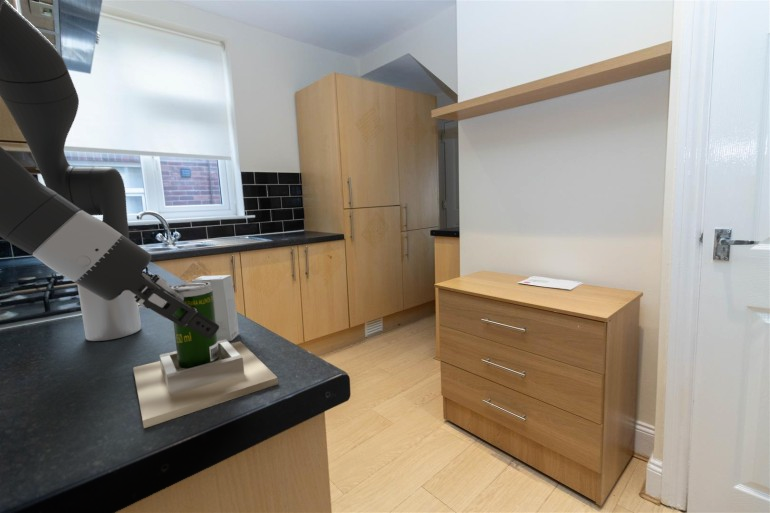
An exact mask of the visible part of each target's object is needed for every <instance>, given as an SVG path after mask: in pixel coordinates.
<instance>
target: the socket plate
mask: <svg viewBox="0 0 770 513" xmlns="http://www.w3.org/2000/svg"><path fill="white" fill-rule="evenodd" d="M218 350H219V359H218V361H215V362H212V363H208V364H204V365H200V366H197V367H193V368H189V369H185V370H181V369H180V368H179V366H178V358H177V350H175V351H170V352H166V353H161V354H158V355H159V360H158V361H154V362H150V363H146V364H142V365H138V366H134V367H133V368H132V369H133V375H134V379H135V386H136V392H137V397H138V403H139V409H140V414H141V421H142V426H143V429H146V428H149V427H152V426H156V425H158V424H162V423H164V422H167V421H170V420H171V421H172V420H173V419H177V418H179V417H182V416H185V415H188V414H192V413H194V412H199V411H202V410H204V409H206V408H210V407H214V406H216V405H219V404H222V403H225V402H228V401H230V400H234V399H237V398H240V397H243V396H247V395H249V394H252V393H255V392H257V391H258V392H259V391H261V390H264V389H265V390H266V388H270V387H274V386H276V385H279V380H278V376H276V375H275V373H274V372H272V371H271V370H270V369H269V367H267V366H266V364H264V363H263V362H262V361H261V360H260V358H258V357H257V356H256V355H255V354H254V353H253V352H252V351H251V350H250V349H249V348H248V347H247V346H246V345H245V344H244V343H242V341H241V340H240V341H235V342H231V343H230V341H227V340H226V339H225V340H220V341H218Z"/></svg>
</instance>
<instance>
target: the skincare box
mask: <svg viewBox="0 0 770 513" xmlns="http://www.w3.org/2000/svg"><path fill="white" fill-rule="evenodd" d="M233 281H234V280H233V275H232V274H224V275H222V274H220V275H219V274H218V275H201V276H199V277H196V278H194V279H191V282H209V283H210V287H211V288H212V290H213V298H214V308H215V318H216V324H218V325H219V329H218V331H217V339H218V341H220V340H225V339H226V340H227V341H228V342H232V341H234V339H235V338H236V337H238V336H239V335H240V329H239V320H238V319H239V318H238V313H237V307H236V306H237V305H236V304H237V303H236V298H235V297H236V296H235V288H234V282H233Z"/></svg>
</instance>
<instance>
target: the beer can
mask: <svg viewBox="0 0 770 513" xmlns="http://www.w3.org/2000/svg"><path fill="white" fill-rule="evenodd" d="M171 288H172V289H173V290H175V291H176V292H178V293H179V294H181V295H182V296H183V297H184V298H185V303H187V304H188V305H190V306H191V307H193V308H194V307H195V308H196V309H197V311H198V312H199V313H201V314H202V315H204V316H205V317H207V318H209V319H210V320H212V321H213V322H215V323H216V318H215V308H214V298H213V290H212V288H211V287H210V283H209V282H184V283H179V284H175V285H172V287H171ZM172 295H173V294H172ZM173 296H174V295H173ZM174 297H175V296H174ZM185 311H186V310H185V309H184V308H182V307H180V308H178V309H177V311H176V312H175V315H177V316H178V317H181V315H182V314H183V313H184V312H185ZM172 322H173V321H172ZM172 324H173V331H174V337H175V338H174V339H175V348H176V351H177V358H178V366H179V368H180V369H181V370H185V369H189V368H193V367H197V366H200V365H204V364H208V363H212V362H215V361H218V359H219V350H218V339H217V332H216V333H215V334H214V335H213V337H212V338H210V339H208V338H206V337H204V336H203V335H201V334H199V333H198V332H196V331H194V330H193V329H191V328H189V327H188V326H186V327H180V326H178V325H177V324H176V323H174V322H173V323H172Z"/></svg>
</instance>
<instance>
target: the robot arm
mask: <svg viewBox="0 0 770 513" xmlns="http://www.w3.org/2000/svg"><path fill="white" fill-rule="evenodd" d="M0 98H1V99H2V101H3V102H4V104H5V106H6V108H7V109H8V111H9V113H10V114H11V117H12V119H13V120H14V122H15V124H16V125H17V127H18V129H19V131H20V133H21V135H22V136H23V138H24V140H25V142H26V143H27V146H28V147H29V150H30V152H31V154H32V157H33V158H34V162H36V163H35V164H36V166H37V168H38V170H39V173H40V175H41V177H42V178H41V179H42V180H43V182H44V184H43V183H42V182H40V181H39V180H38V179H37V178H36V177H35V176H34V175H33V174H32V173H31V172H29V171H28V169H26V167H25V166H23V164H21V163H20V162H19V161H18V160H17V159H15V157H14V156H12V155H11V154H10V153H8V152H7V151H6V150H5V149H4V148H3V147H2V146H1V145H0V238H2V239H3V240H5V241H6V242H8V243H10V244H12V245H14V246H16V247H17V248H19V249H20V250H22V251H23V252H25V253H28V254H29V255H32V257H34V258H36V259H37V260H39V261H40V262H41V263H43V264H44V265H45V266H46V267H48V268H49V269H51V270H53V271H54V272H56V273H57V274H59V275H61V276H63V277H64V278H66V279H68V280H70V281H71V282H73V283H75V284H76V285H77V290H78V298H79V302H80V303H79V305H80V310H81V316H82V322H83V330H84V336H85V339H86V341H90V342H101V341H111V340H116V339H120V338H125V337H128V336H130V335H133V334H135V333H138V332H140V331H141V329H142V325H141V324H142V323H141V322H142V321H141V316H140V309H139V308H140V307H139V305H140V306H142V307H143V308H146V309H149V310H152V311H153V312H154V313H156V314H158V315H159V316H161V317H162V318H163V319H167V320H169V321H170V322H174V323H176V324H177V325H178V326H180V327H186V326H188V327H189V328H191V329H193V330H194V331H196V332H198V333H199V334H201V335H203V336H204V337H206V338H208V339H210V338H212V337H213V335H214V334H215V333H216V332H217V331H218V329H219V325H218V324H216V323H215V322H213V321H212V320H210V319H209V318H207V317H205V316H204V315H202V314H201V313H199V312H198V311H197V309H196V308H195V307H194V308H193V307H191V306H190V305H188V304H187V303H185V298H184V297H183V296H182V295H181V294H179V293H178V292H176V291H175V290H173V289H172V288H171V287H173V285H170V284H169V283H168V282H167V280H166V279H164V278H163V277H162V276H160V275H158V274H157V273H155V274H152V273H151V274H150V273H147V274H146V273H144V272H143V271H144V270H146V269H147V267H148V265H149V264H150V263H151V260H152V254H150V252H148V251H147V250H145V249H144V248H142V247H141V246H139V245H138V244H136V243H135V242H133V241H132V240H131V239H130V231H129V222H128V211H127V210H128V209H127V196H126V195H127V194H126V188H125V183H124V179H123V176H122V175H121V173H120V172H119V171H118V170H117V168H114V167H110V166H71V164H70V163H69V162H68V160H67V158H66V154H65V145H66V141H67V137H68V135H69V132H70V130H71V128H72V127H73V123H75V122H74V121H75V119H76V116H77V114H78V110H79V95H78V93H77V89H76V86H75V84H74V82H73V79H72V77H71V74H70V72H69V69H68V66H67V64H66V62H65V59H64V58H63V55H62V54H61V53H60V51H59V50H58V49H57V48H56V46H54V44H53V43H52V42H51V41H50V40H49V39H48V38H47V37H46V36H45V35H44V34H43V33H42V32H41V31H40V30H39V29H38V28H37V27H36V26H35V25H33V24H32V22H30V21H29V20H28V19H27V18H25V16H23V14H22V13H20V12H19V11H18V10H17V9H16V7H14V6H13V5H12V4H11V3H10V2H9V1H8V0H0ZM95 216H102V219H99V218H97V217H95ZM172 294H173V295H174V296H175V297H174V296H173V295H172ZM180 307H182V308H184V309H185V310H186V311H185V312H184V313H183V314H182V315H181V317H178V316H177V315H175V312H176V311H177V309H178V308H180ZM174 323H173V324H174Z"/></svg>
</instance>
